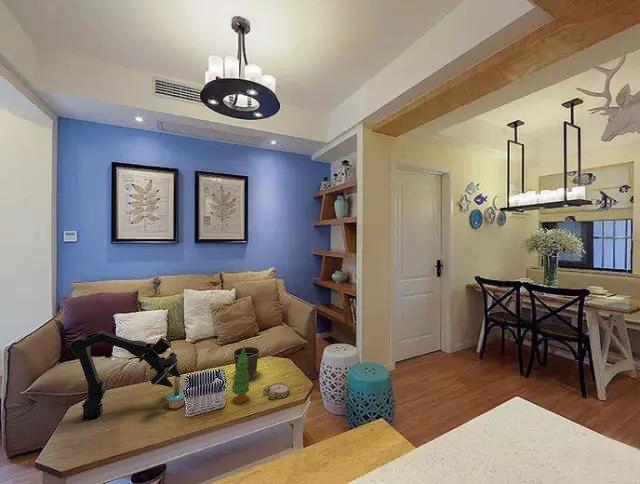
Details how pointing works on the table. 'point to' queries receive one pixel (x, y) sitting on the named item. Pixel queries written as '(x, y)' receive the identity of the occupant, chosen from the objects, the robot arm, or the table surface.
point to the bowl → (176, 404)
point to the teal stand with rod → (175, 392)
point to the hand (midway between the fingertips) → (176, 382)
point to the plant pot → (249, 360)
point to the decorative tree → (241, 378)
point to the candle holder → (276, 390)
